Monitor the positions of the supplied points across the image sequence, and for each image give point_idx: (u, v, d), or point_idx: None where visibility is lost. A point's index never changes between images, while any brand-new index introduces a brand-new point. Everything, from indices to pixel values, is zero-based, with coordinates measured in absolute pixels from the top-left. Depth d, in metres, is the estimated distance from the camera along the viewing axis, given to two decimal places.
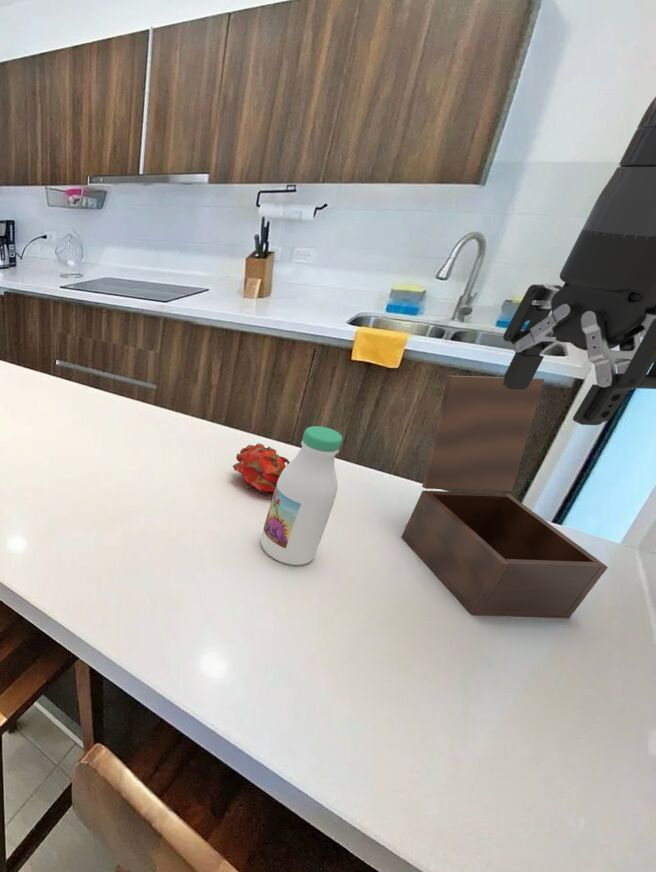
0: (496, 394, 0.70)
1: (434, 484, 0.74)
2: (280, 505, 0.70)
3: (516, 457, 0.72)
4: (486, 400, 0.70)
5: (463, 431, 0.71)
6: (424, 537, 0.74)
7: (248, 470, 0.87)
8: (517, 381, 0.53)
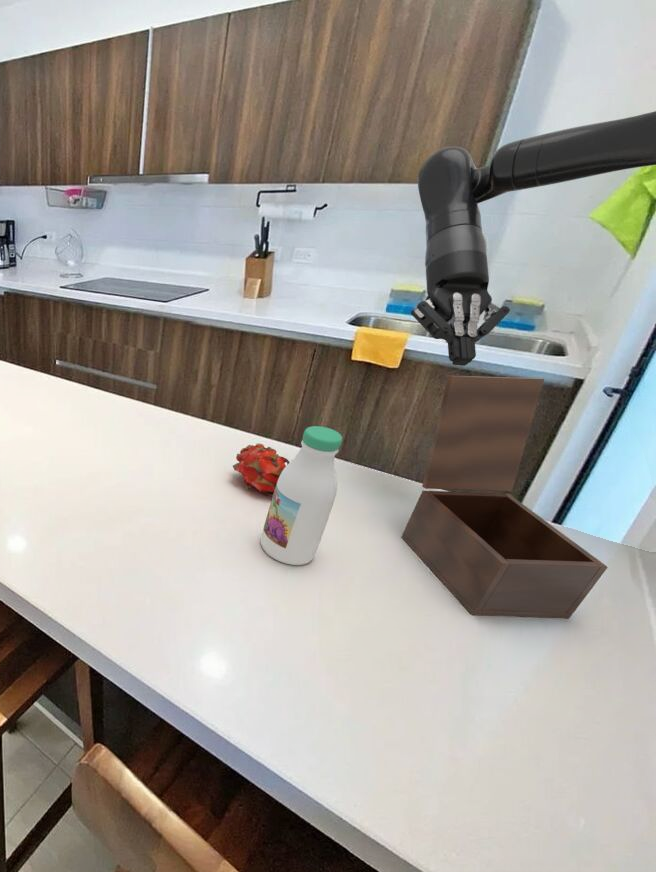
0: (496, 394, 0.70)
1: (434, 484, 0.74)
2: (280, 505, 0.70)
3: (516, 457, 0.72)
4: (486, 400, 0.70)
5: (463, 431, 0.71)
6: (424, 537, 0.74)
7: (248, 470, 0.87)
8: None
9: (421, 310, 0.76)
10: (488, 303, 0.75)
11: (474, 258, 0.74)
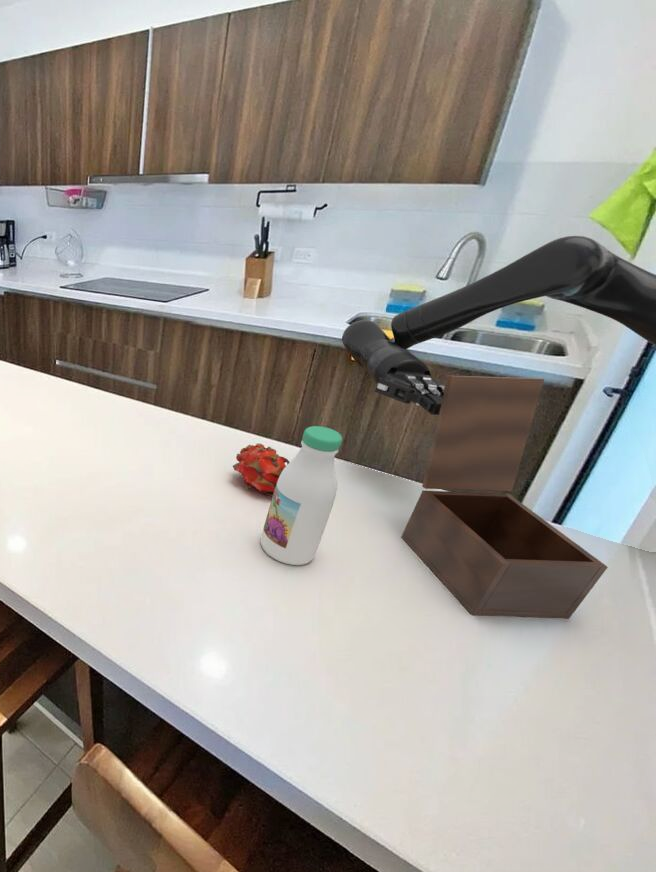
0: (496, 394, 0.70)
1: (434, 484, 0.74)
2: (280, 505, 0.70)
3: (516, 457, 0.72)
4: (486, 400, 0.70)
5: (463, 431, 0.71)
6: (424, 537, 0.74)
7: (248, 470, 0.87)
8: None
9: (383, 383, 0.85)
10: (437, 382, 0.85)
11: (409, 355, 0.89)
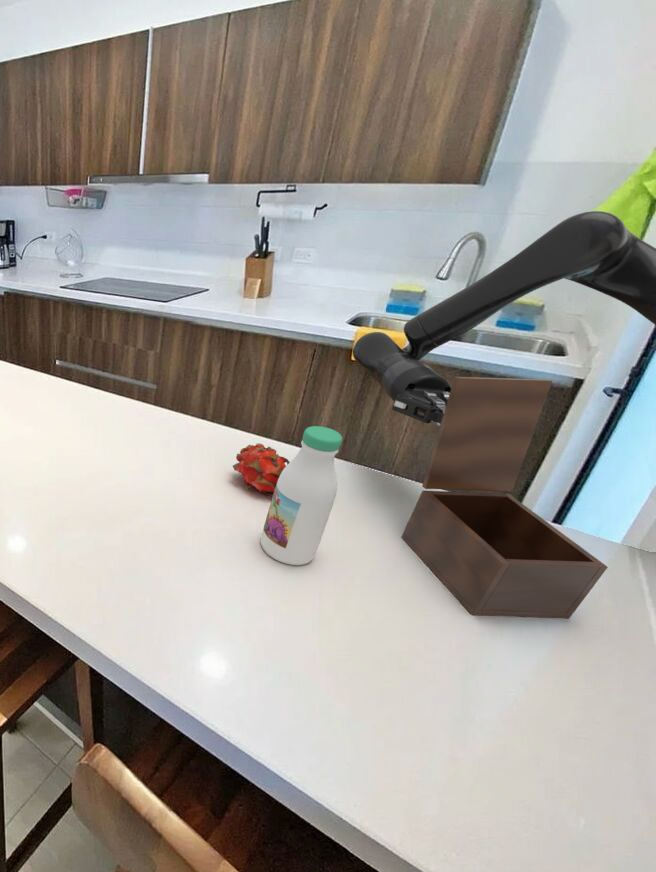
0: (502, 396, 0.69)
1: (434, 484, 0.74)
2: (280, 505, 0.70)
3: (518, 458, 0.72)
4: (491, 401, 0.69)
5: (466, 432, 0.71)
6: (424, 537, 0.74)
7: (248, 470, 0.87)
8: None
9: (401, 400, 0.79)
10: None
11: (428, 370, 0.83)
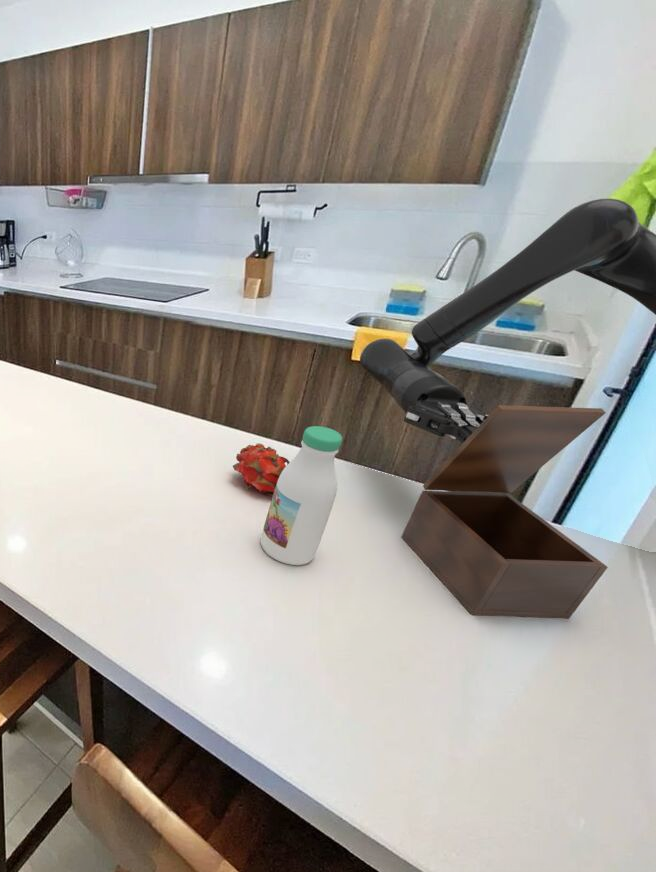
0: (542, 424, 0.63)
1: (435, 487, 0.73)
2: (280, 505, 0.70)
3: (531, 470, 0.70)
4: (528, 428, 0.64)
5: (488, 451, 0.67)
6: (424, 537, 0.74)
7: (248, 470, 0.87)
8: None
9: (413, 412, 0.75)
10: (475, 412, 0.75)
11: (442, 379, 0.79)
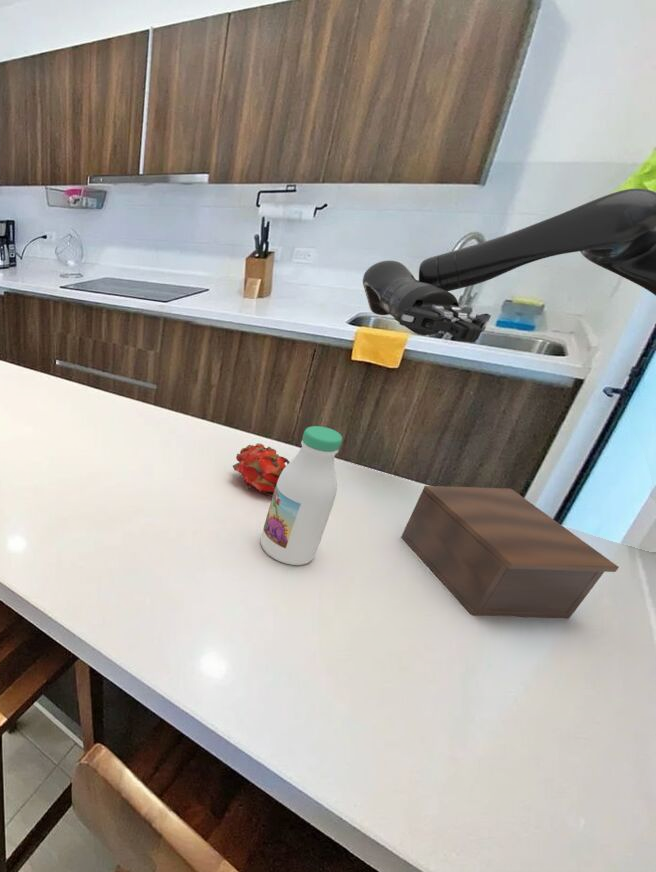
0: None
1: None
2: (280, 505, 0.70)
3: None
4: None
5: None
6: (424, 537, 0.74)
7: (248, 470, 0.87)
8: None
9: (409, 313, 0.79)
10: (467, 313, 0.79)
11: (436, 287, 0.83)
